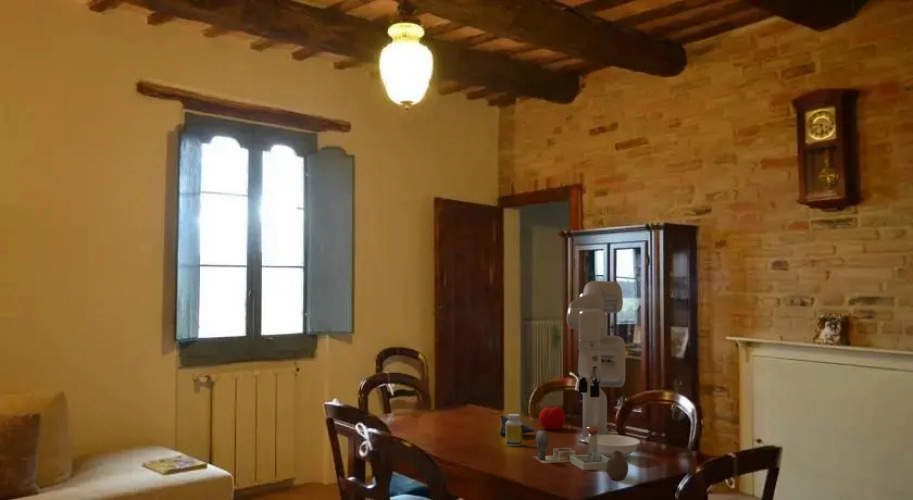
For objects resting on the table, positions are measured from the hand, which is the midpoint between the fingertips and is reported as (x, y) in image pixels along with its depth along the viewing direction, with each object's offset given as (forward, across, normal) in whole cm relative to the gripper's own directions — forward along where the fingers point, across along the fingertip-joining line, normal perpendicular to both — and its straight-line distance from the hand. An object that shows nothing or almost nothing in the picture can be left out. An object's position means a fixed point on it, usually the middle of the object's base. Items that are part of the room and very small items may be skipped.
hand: (588, 394), depth 272 cm
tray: (+24, -4, 0) cm, 25 cm away
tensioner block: (+24, +7, +9) cm, 27 cm away
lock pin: (+24, -4, 0) cm, 24 cm away
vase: (+24, -19, -2) cm, 31 cm away
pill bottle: (+25, +37, +14) cm, 47 cm away
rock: (+25, +56, +8) cm, 62 cm away
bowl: (+25, +10, -14) cm, 30 cm away
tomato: (+26, +66, -13) cm, 72 cm away
